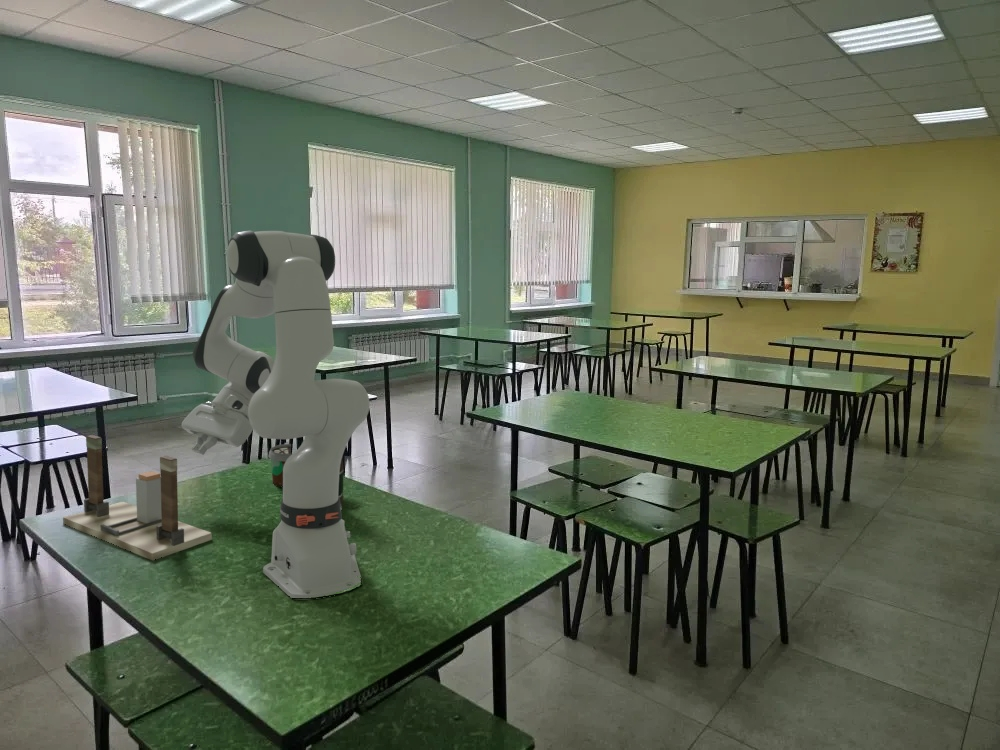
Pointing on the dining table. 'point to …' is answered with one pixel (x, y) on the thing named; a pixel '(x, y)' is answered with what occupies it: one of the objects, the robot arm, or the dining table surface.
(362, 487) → the dining table surface
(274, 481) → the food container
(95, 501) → the wooden stick
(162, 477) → the brown lever
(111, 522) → the panel
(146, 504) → the slider
